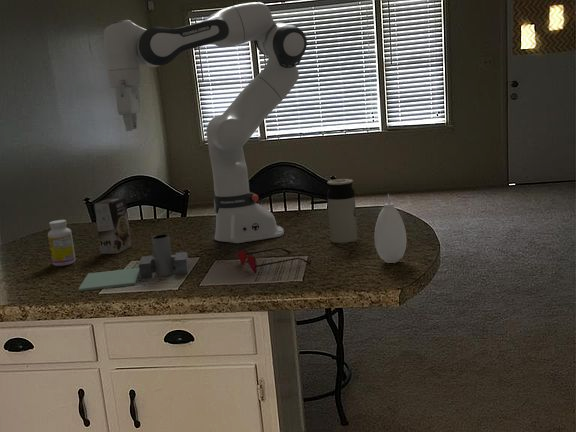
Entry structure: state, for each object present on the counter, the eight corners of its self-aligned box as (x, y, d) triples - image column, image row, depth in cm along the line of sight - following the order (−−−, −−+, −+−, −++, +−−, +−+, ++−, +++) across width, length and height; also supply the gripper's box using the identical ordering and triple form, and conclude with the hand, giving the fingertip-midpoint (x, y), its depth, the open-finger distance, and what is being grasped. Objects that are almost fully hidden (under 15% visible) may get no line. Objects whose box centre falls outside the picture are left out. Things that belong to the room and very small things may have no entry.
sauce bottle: (388, 269, 151) (384, 197, 148) (370, 262, 158) (366, 194, 155) (413, 263, 155) (410, 192, 151) (394, 256, 162) (391, 189, 158)
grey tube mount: (188, 263, 171) (186, 249, 170) (187, 273, 162) (186, 259, 161) (144, 268, 170) (142, 254, 169) (140, 279, 160) (138, 264, 159)
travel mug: (326, 243, 181) (322, 183, 177) (335, 237, 188) (331, 179, 185) (353, 244, 178) (349, 182, 174) (360, 237, 185) (357, 178, 182)
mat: (140, 269, 169) (140, 267, 169) (135, 284, 156) (135, 282, 156) (88, 275, 168) (88, 273, 167) (78, 291, 154) (78, 289, 154)
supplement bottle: (56, 261, 186) (49, 220, 183) (78, 259, 186) (72, 218, 184) (49, 267, 179) (42, 224, 177) (72, 265, 180) (66, 222, 177)
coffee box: (119, 253, 189) (112, 202, 186) (100, 254, 191) (93, 203, 187) (132, 246, 198) (126, 196, 195) (114, 246, 199) (107, 197, 196)
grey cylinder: (176, 271, 165) (172, 234, 163) (167, 276, 160) (163, 238, 158) (161, 271, 166) (157, 234, 164) (152, 276, 162) (148, 238, 160)
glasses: (236, 264, 168) (234, 247, 167) (291, 254, 174) (290, 237, 173) (253, 277, 155) (251, 258, 154) (312, 265, 162) (311, 247, 161)
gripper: (132, 78, 163) (138, 131, 166) (140, 80, 183) (146, 127, 186) (107, 80, 162) (114, 133, 165) (119, 82, 182) (125, 129, 185)
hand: (131, 130), depth 176 cm, fingers open, 8 cm apart
